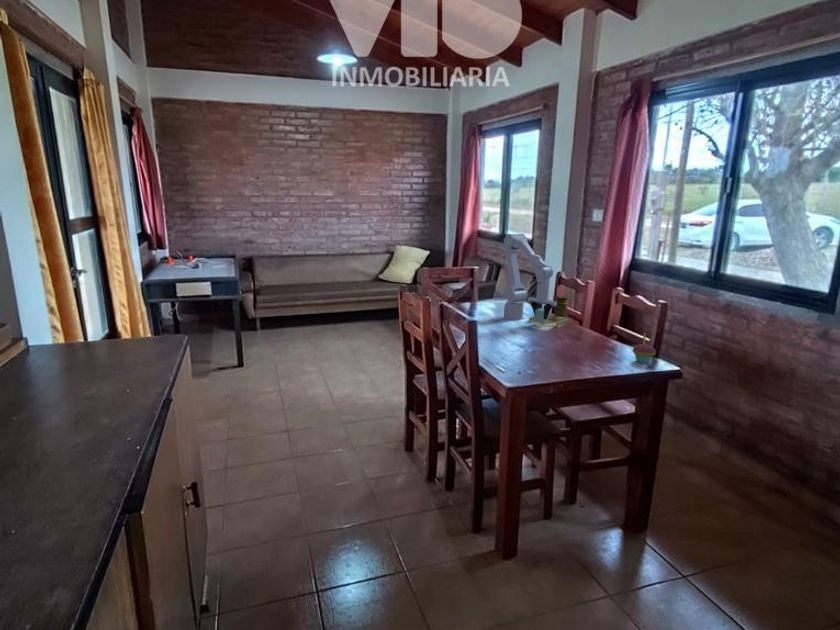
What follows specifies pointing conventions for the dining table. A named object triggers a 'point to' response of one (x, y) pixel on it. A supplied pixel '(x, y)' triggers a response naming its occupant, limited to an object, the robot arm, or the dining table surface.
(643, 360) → the cupcake
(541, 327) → the coaster
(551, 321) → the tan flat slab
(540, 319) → the block
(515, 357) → the dining table surface
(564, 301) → the condiment
